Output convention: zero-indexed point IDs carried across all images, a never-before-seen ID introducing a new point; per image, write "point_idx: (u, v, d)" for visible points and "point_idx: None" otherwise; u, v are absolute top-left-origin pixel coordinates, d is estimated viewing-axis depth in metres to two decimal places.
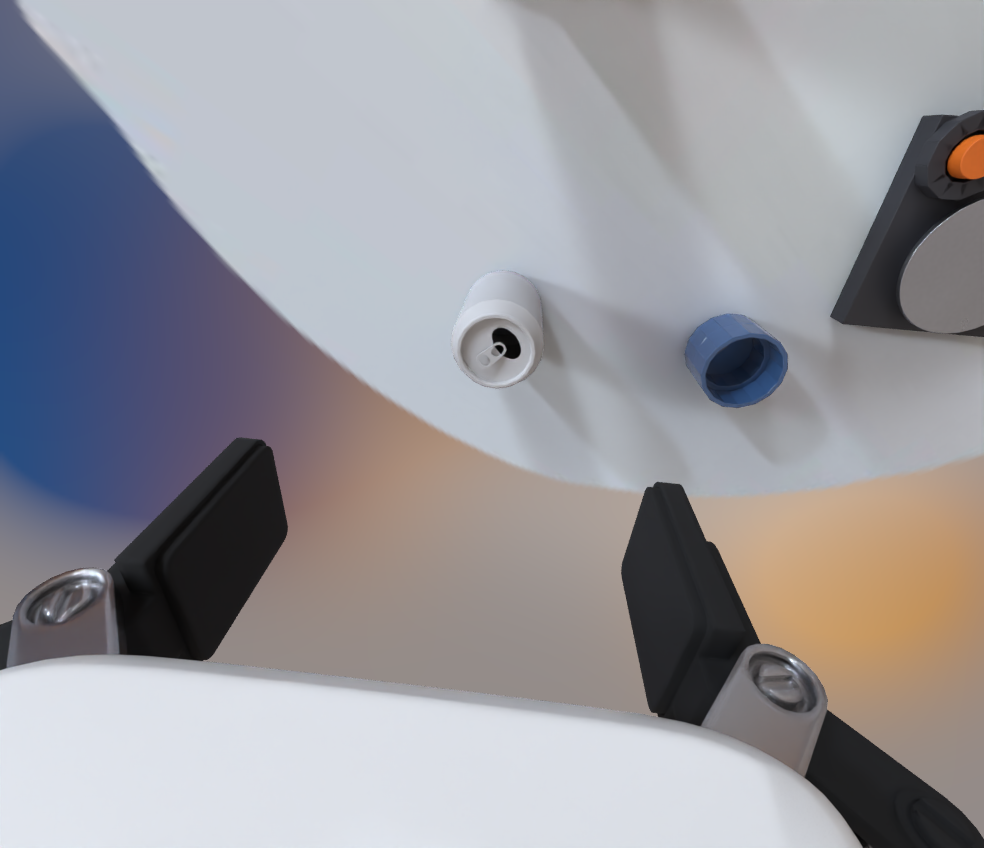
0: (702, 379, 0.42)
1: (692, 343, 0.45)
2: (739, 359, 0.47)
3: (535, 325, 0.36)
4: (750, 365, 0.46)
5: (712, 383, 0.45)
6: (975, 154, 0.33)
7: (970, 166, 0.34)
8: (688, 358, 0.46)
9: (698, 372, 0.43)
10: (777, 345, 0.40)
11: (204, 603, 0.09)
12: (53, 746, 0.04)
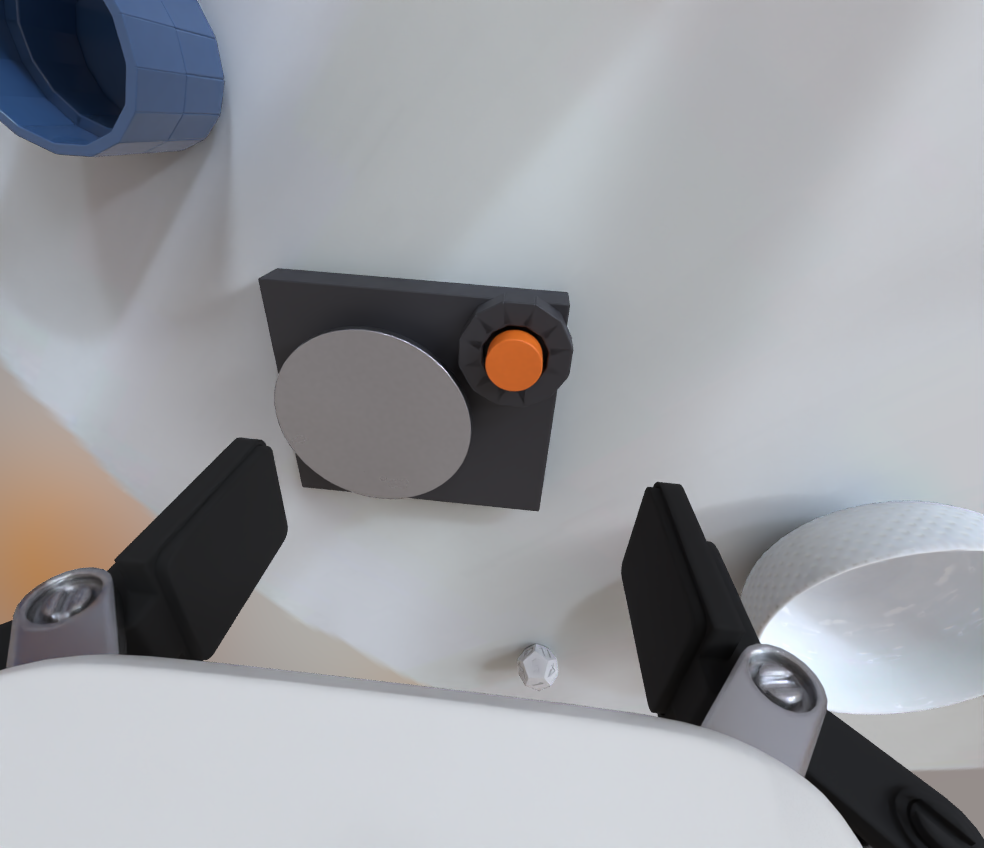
0: None
1: None
2: None
3: None
4: None
5: (16, 6, 0.18)
6: (517, 354, 0.22)
7: (502, 354, 0.22)
8: None
9: None
10: (126, 107, 0.17)
11: (204, 603, 0.09)
12: (53, 746, 0.04)
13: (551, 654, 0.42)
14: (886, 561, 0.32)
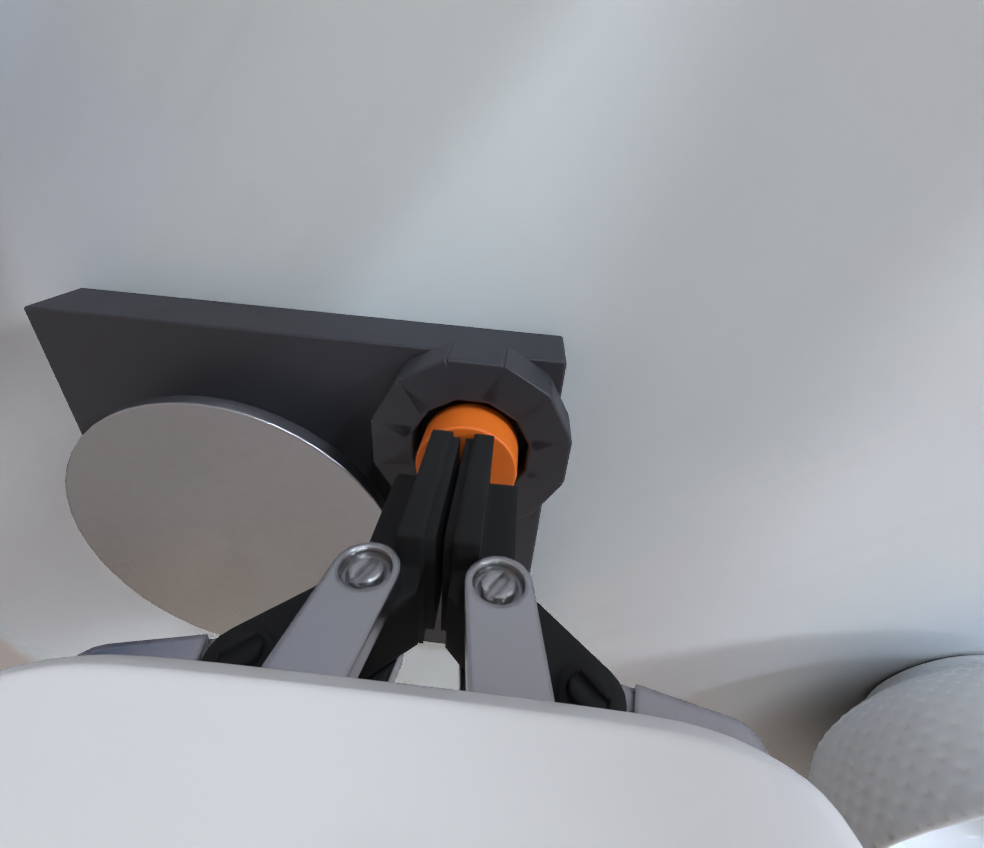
0: None
1: None
2: None
3: None
4: None
5: None
6: None
7: None
8: None
9: None
10: None
11: (437, 577, 0.10)
12: (53, 746, 0.04)
13: None
14: None
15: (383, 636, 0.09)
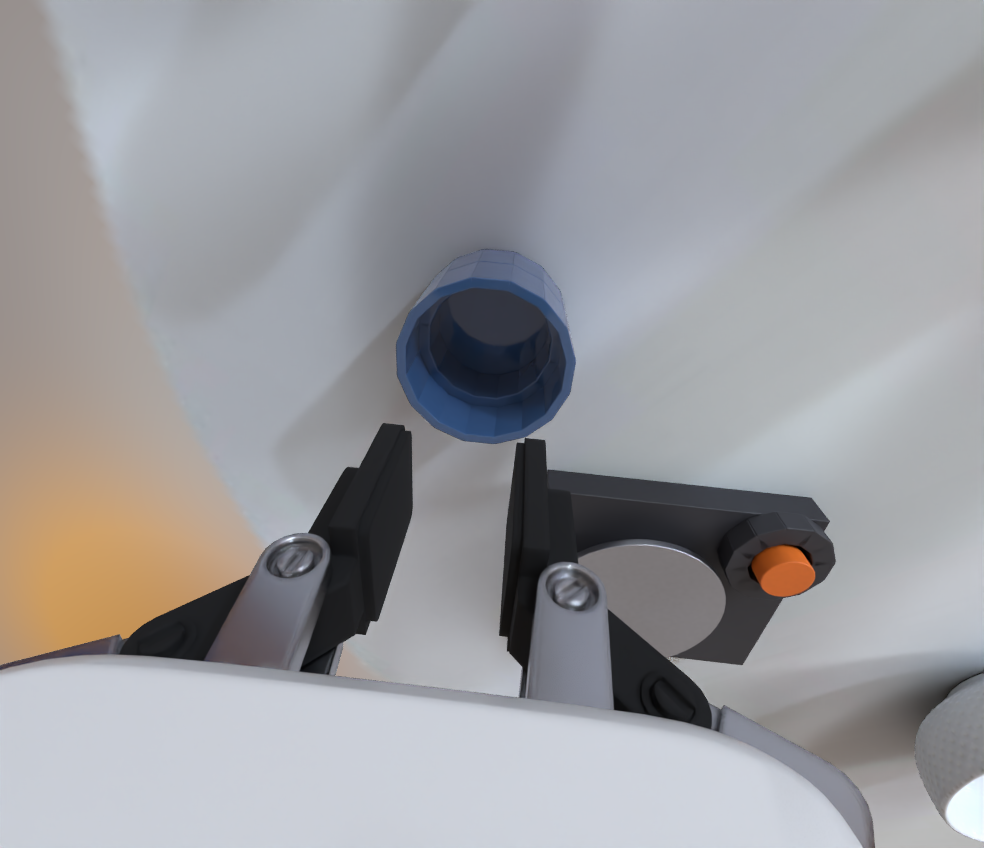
0: (460, 283, 0.17)
1: (514, 257, 0.21)
2: (474, 358, 0.25)
3: None
4: (470, 379, 0.24)
5: (433, 315, 0.21)
6: (795, 572, 0.25)
7: (781, 571, 0.25)
8: (480, 255, 0.20)
9: (472, 272, 0.18)
10: (545, 416, 0.20)
11: (379, 569, 0.10)
12: (53, 746, 0.04)
13: None
14: None
15: (321, 622, 0.09)
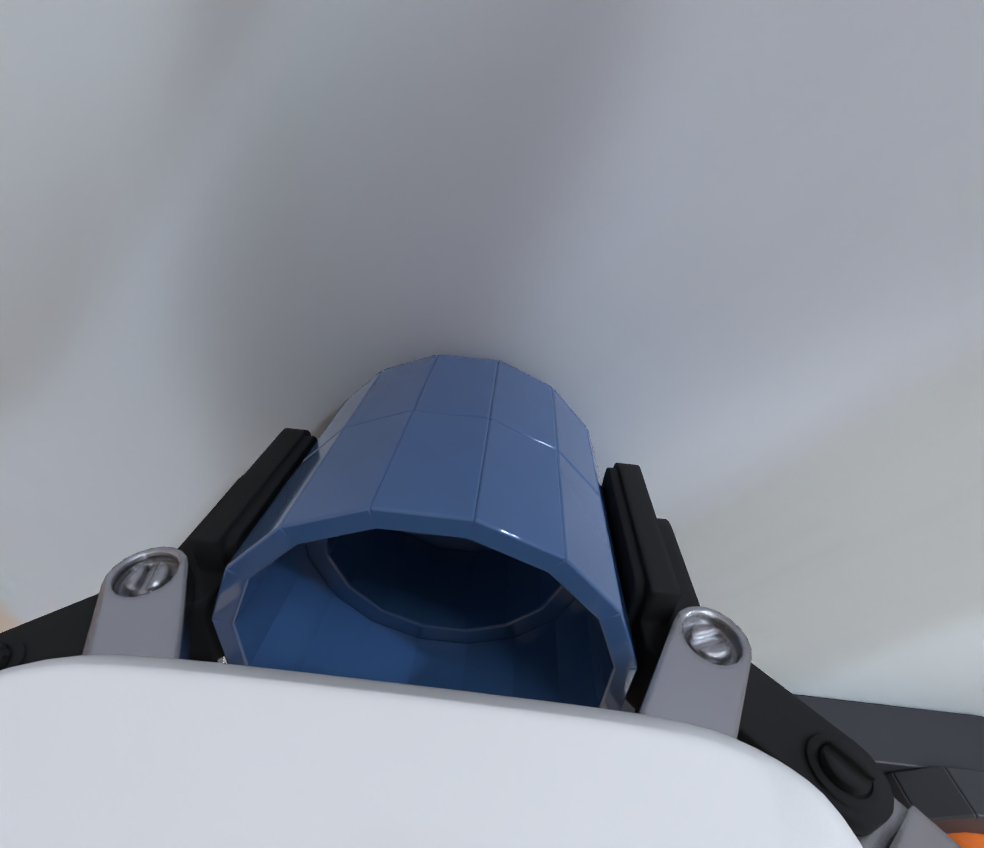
0: (343, 516, 0.07)
1: (496, 384, 0.10)
2: None
3: None
4: (419, 574, 0.13)
5: None
6: None
7: None
8: (424, 380, 0.10)
9: (381, 474, 0.07)
10: None
11: None
12: (53, 746, 0.04)
13: None
14: None
15: (195, 630, 0.08)
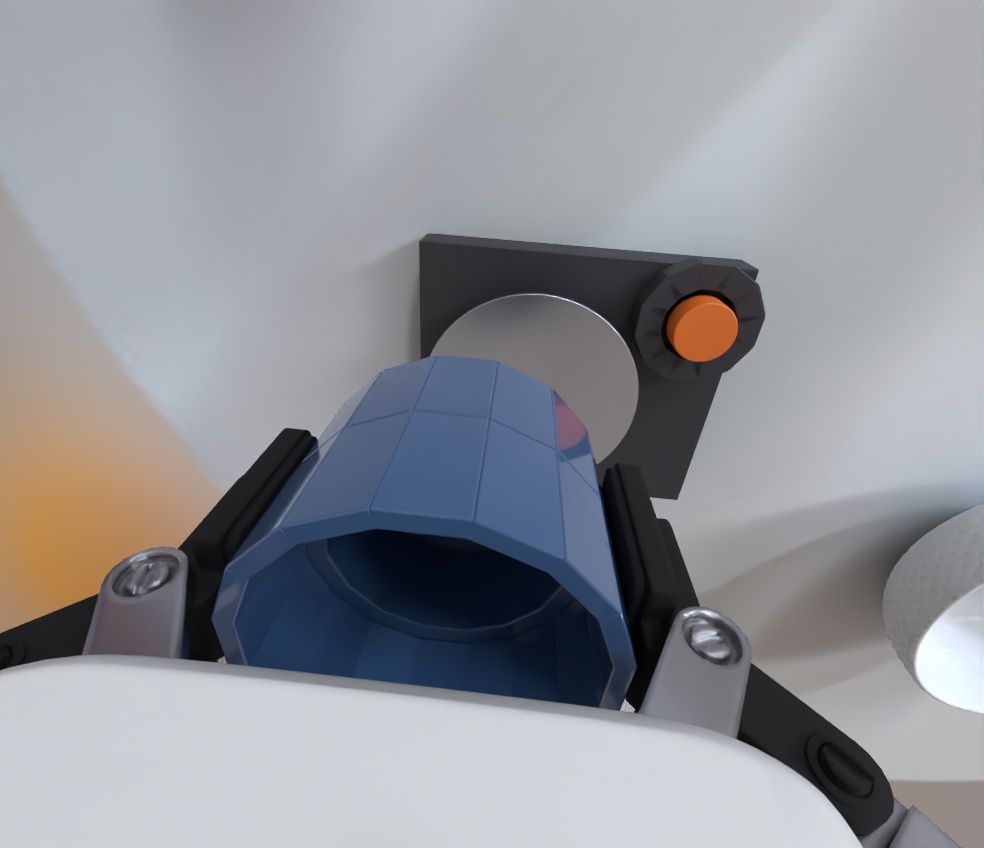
0: (343, 516, 0.07)
1: (496, 384, 0.10)
2: None
3: None
4: (419, 574, 0.13)
5: None
6: (713, 320, 0.21)
7: (696, 320, 0.21)
8: (424, 380, 0.10)
9: (381, 474, 0.07)
10: None
11: None
12: (53, 746, 0.04)
13: None
14: None
15: (195, 630, 0.08)
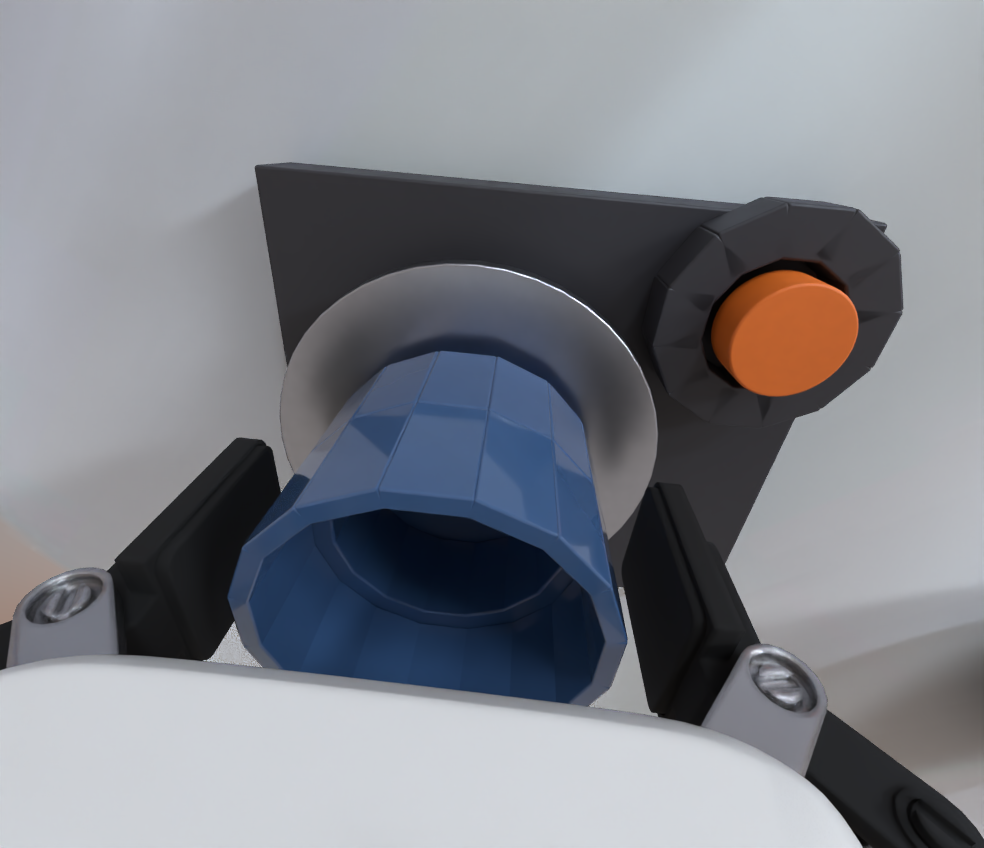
0: (353, 497, 0.07)
1: (495, 378, 0.10)
2: (430, 518, 0.14)
3: None
4: (421, 563, 0.14)
5: None
6: (810, 318, 0.11)
7: (777, 317, 0.11)
8: (427, 374, 0.10)
9: (388, 459, 0.07)
10: None
11: (204, 603, 0.09)
12: (53, 746, 0.04)
13: None
14: None
15: None
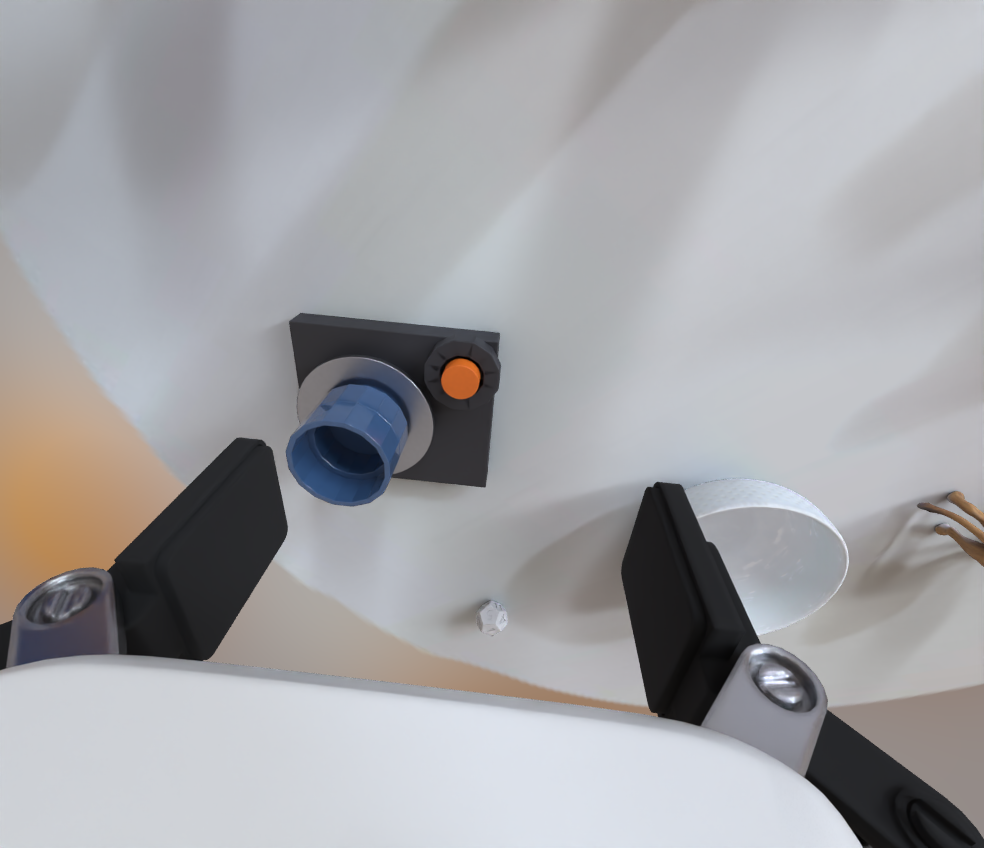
0: (317, 422, 0.31)
1: (364, 393, 0.34)
2: (353, 444, 0.38)
3: None
4: (348, 459, 0.37)
5: (315, 428, 0.34)
6: (462, 375, 0.34)
7: (452, 374, 0.34)
8: (343, 392, 0.34)
9: (326, 414, 0.31)
10: (378, 491, 0.33)
11: (204, 603, 0.09)
12: (52, 746, 0.04)
13: (502, 608, 0.53)
14: (739, 526, 0.44)
15: None
